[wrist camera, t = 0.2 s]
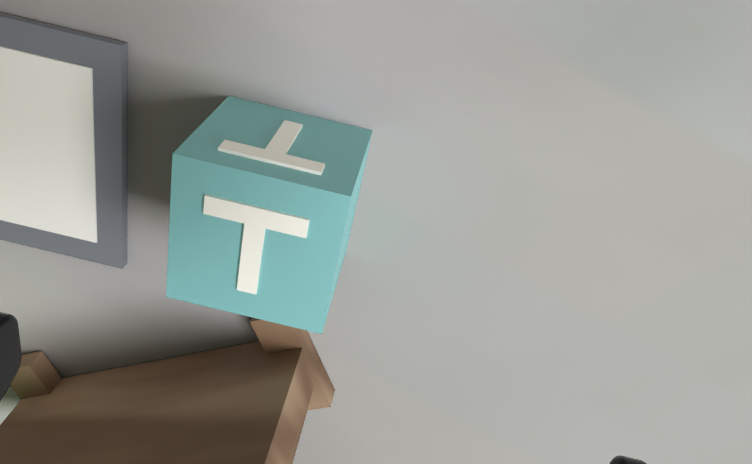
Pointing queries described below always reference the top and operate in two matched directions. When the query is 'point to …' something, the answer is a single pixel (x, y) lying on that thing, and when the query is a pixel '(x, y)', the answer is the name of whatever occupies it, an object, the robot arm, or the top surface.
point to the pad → (63, 140)
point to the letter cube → (263, 212)
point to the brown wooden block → (172, 406)
